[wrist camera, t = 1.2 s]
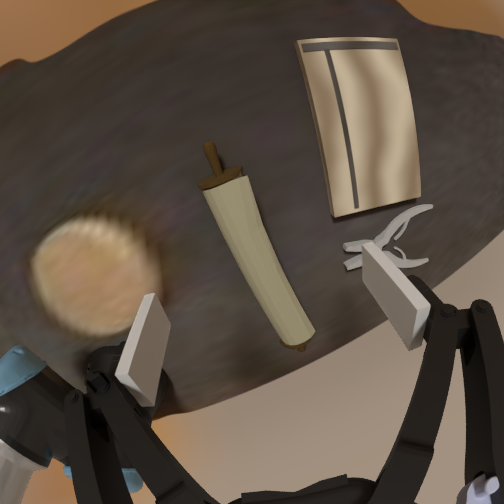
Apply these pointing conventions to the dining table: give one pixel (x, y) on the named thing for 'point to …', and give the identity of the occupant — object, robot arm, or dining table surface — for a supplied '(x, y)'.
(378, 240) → the pliers
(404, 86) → the marking board
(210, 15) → the dining table surface
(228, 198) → the rolling pin
